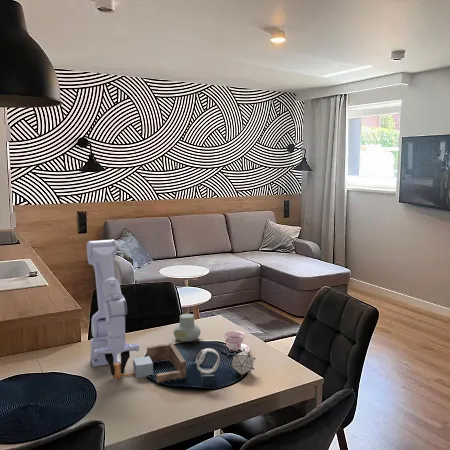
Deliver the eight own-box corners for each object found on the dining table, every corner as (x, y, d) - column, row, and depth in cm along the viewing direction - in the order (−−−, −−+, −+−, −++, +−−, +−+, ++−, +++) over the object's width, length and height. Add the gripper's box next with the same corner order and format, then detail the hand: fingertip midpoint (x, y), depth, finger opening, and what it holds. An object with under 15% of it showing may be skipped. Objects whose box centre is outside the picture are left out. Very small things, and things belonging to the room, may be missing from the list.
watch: (195, 377, 157) (195, 346, 156) (219, 377, 158) (219, 345, 156) (195, 385, 152) (195, 353, 150) (220, 384, 152) (220, 352, 151)
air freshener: (170, 339, 191) (170, 316, 190) (182, 333, 198) (182, 310, 196) (191, 345, 185) (191, 321, 184) (203, 339, 192) (203, 315, 191)
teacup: (234, 342, 189) (234, 327, 188) (256, 350, 181) (257, 335, 180) (212, 350, 181) (212, 335, 180) (235, 359, 172) (235, 343, 171)
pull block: (114, 381, 154) (114, 368, 153) (112, 374, 159) (112, 361, 159) (153, 375, 158) (152, 363, 158) (149, 368, 164) (149, 356, 163)
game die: (240, 381, 163) (243, 352, 168) (259, 380, 157) (261, 350, 162) (223, 375, 157) (226, 346, 162) (242, 374, 152) (244, 343, 157)
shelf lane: (157, 383, 153) (157, 365, 153) (147, 362, 169) (146, 346, 168) (185, 378, 157) (185, 361, 156) (172, 358, 173) (172, 342, 172)
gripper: (94, 341, 149) (96, 382, 151) (140, 336, 154) (141, 375, 156) (92, 334, 155) (94, 373, 157) (136, 328, 161) (137, 366, 162)
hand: (117, 373), depth 157 cm, fingers closed on pull block, 3 cm apart
